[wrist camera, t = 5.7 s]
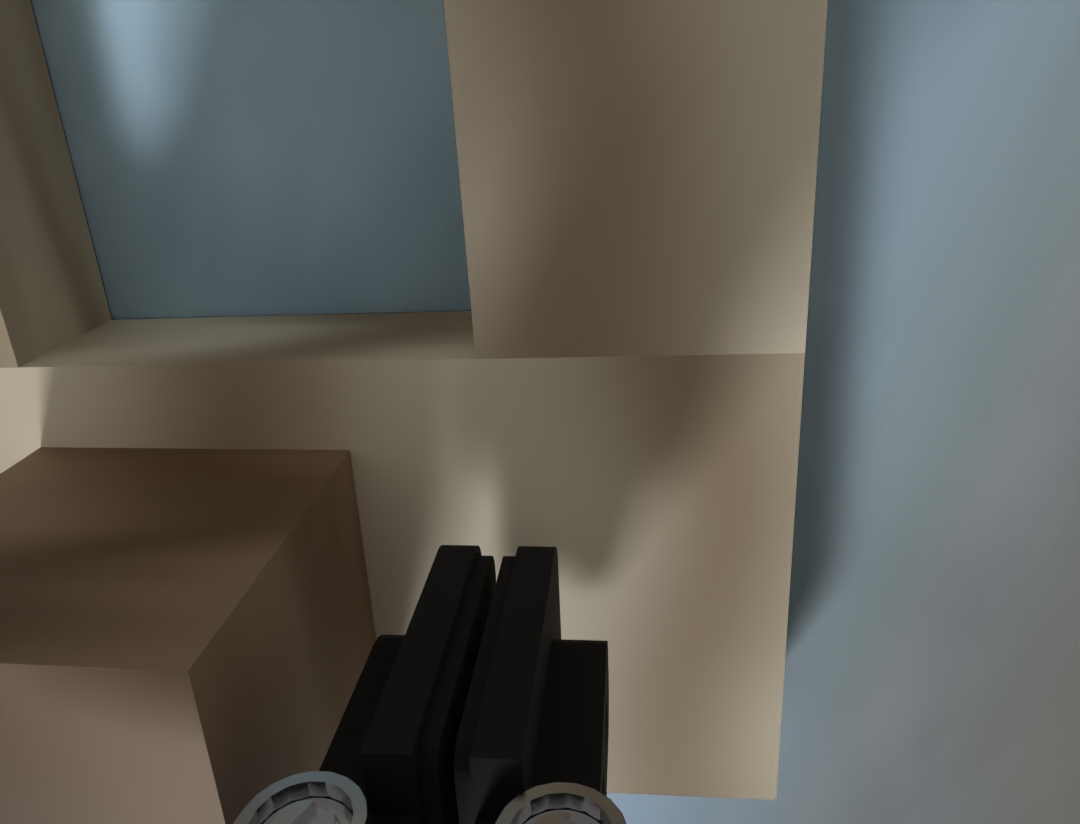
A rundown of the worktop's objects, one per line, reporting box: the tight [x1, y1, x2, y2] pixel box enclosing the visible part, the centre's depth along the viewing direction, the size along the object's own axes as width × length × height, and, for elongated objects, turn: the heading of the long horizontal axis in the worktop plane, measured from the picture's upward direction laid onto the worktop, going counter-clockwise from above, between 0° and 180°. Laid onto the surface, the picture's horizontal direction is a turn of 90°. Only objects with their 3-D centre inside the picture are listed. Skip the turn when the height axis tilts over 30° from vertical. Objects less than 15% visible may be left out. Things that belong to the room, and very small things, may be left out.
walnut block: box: [0, 447, 376, 824], centre depth 12 cm, size 5×5×5 cm
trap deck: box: [0, 0, 828, 800], centre depth 13 cm, size 22×16×6 cm
